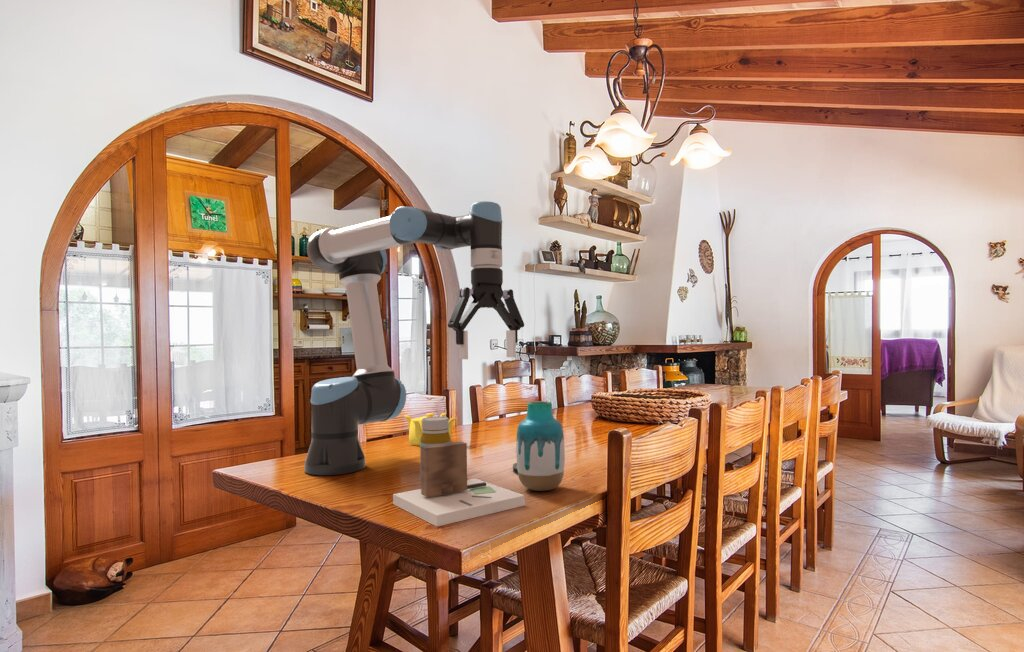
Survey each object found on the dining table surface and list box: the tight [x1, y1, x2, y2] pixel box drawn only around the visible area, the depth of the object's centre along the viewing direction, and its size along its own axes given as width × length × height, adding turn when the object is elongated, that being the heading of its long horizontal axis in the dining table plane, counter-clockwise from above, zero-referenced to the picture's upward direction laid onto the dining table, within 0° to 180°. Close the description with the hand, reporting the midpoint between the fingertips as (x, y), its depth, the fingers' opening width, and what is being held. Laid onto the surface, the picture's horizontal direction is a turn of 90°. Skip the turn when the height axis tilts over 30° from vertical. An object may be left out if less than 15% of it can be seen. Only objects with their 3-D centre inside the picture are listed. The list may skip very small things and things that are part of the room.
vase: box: [515, 400, 566, 492], centre depth 126 cm, size 11×11×19 cm
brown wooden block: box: [420, 441, 486, 497], centre depth 118 cm, size 14×4×10 cm, turn 122°
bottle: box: [419, 416, 452, 457], centre depth 133 cm, size 7×7×15 cm
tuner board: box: [392, 478, 526, 527], centre depth 116 cm, size 18×20×2 cm
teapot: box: [403, 412, 458, 447], centre depth 183 cm, size 15×14×10 cm
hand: (488, 358), depth 136 cm, fingers open, 13 cm apart
